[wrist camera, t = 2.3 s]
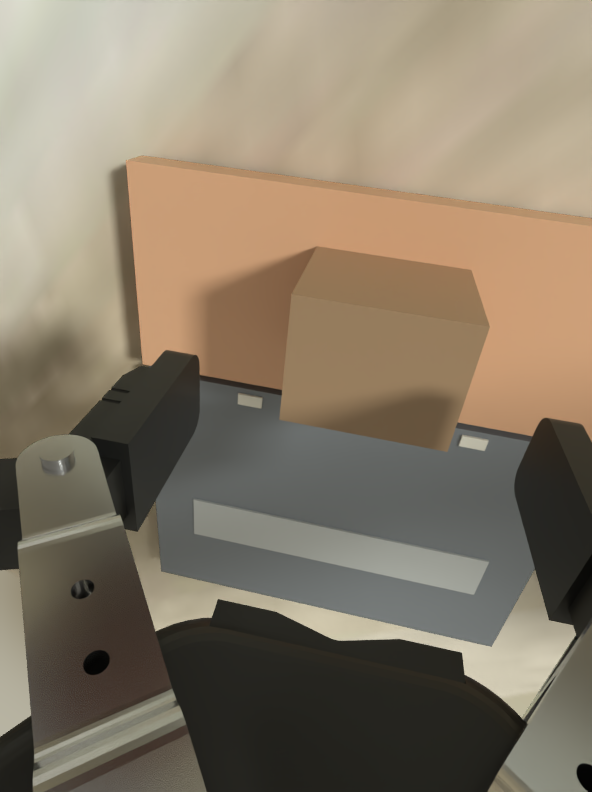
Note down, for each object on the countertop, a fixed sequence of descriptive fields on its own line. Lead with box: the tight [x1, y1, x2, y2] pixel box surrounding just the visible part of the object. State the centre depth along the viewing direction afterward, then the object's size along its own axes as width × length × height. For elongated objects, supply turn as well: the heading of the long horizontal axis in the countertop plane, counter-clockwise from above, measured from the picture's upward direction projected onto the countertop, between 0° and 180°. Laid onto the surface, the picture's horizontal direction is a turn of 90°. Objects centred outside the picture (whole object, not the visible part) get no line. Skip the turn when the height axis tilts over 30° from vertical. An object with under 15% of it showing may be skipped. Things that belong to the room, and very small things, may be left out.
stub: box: [126, 156, 592, 452], centre depth 16 cm, size 18×8×6 cm, turn 84°
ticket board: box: [149, 366, 535, 647], centre depth 24 cm, size 18×13×1 cm
